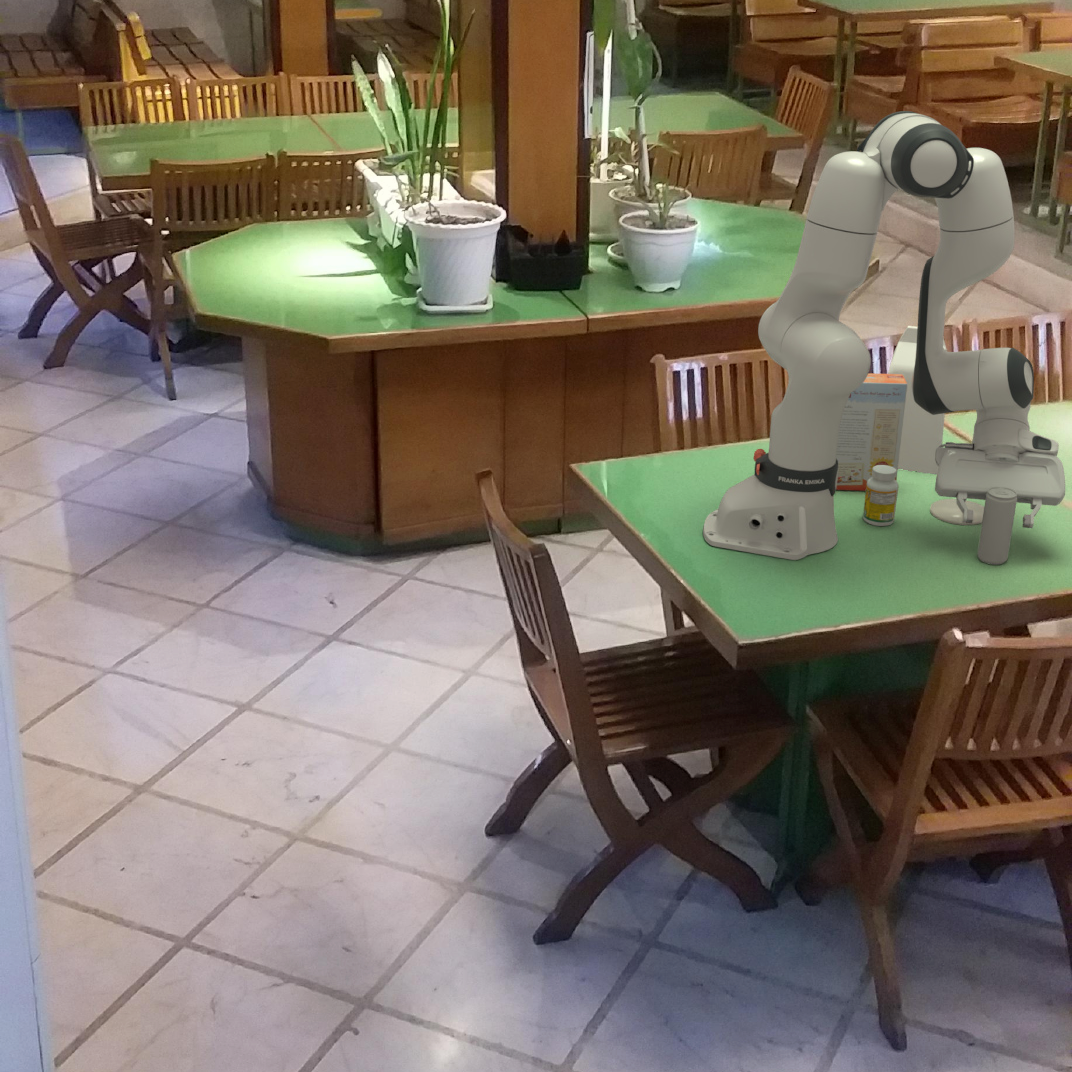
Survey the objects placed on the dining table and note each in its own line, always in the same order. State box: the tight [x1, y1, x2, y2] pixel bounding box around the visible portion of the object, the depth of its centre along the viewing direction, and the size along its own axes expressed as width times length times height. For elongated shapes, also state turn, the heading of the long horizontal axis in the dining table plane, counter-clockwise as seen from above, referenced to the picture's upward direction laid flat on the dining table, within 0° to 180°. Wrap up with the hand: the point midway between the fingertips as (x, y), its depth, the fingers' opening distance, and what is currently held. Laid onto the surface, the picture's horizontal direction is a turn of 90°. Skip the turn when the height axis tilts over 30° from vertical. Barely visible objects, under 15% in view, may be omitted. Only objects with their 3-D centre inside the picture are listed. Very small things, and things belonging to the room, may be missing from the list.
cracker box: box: [836, 372, 907, 492], centre depth 262 cm, size 14×6×21 cm, turn 84°
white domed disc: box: [929, 498, 985, 526], centre depth 255 cm, size 10×10×1 cm
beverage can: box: [976, 487, 1018, 566], centre depth 236 cm, size 5×5×12 cm
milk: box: [887, 325, 948, 475], centre depth 273 cm, size 12×12×26 cm
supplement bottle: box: [862, 465, 899, 527], centre depth 250 cm, size 5×5×10 cm
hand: (997, 524), depth 235 cm, fingers open, 8 cm apart
